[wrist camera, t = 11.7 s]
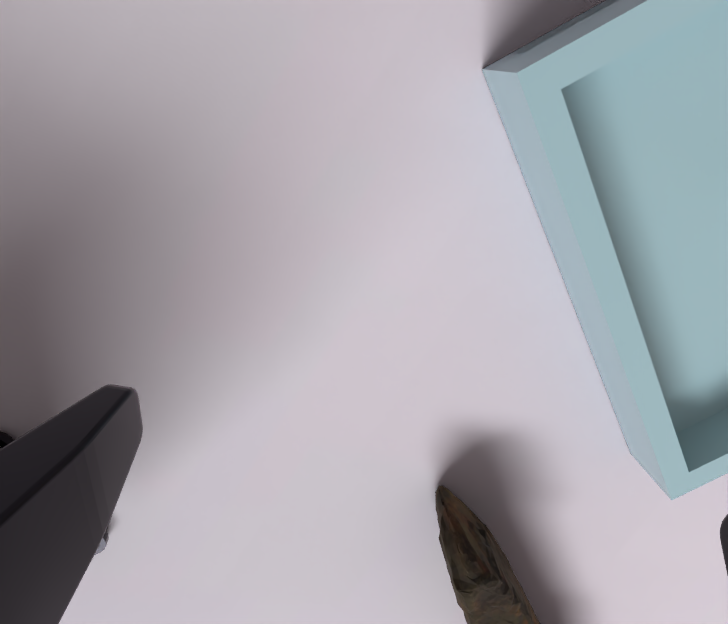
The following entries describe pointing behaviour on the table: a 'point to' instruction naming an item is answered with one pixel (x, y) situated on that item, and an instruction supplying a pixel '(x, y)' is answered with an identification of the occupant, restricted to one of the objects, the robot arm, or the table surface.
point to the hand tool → (479, 567)
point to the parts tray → (637, 211)
